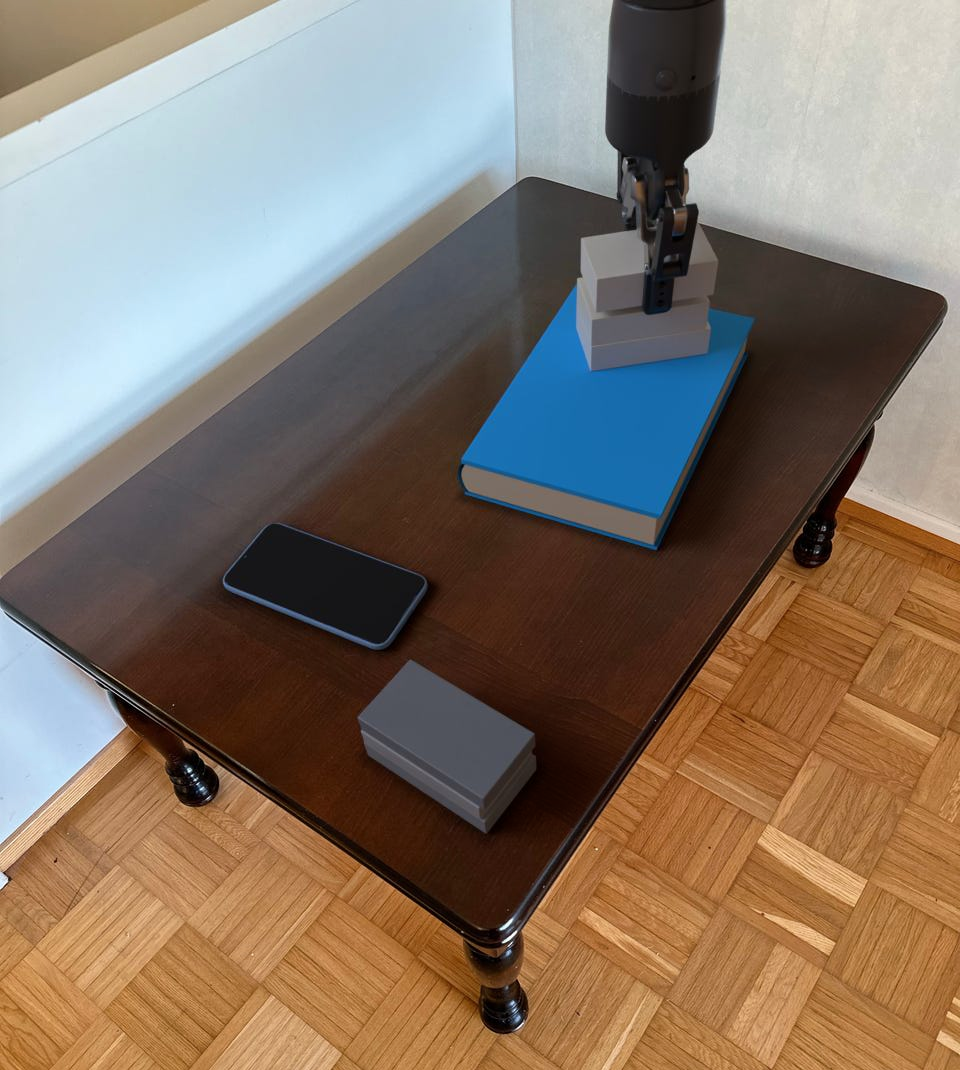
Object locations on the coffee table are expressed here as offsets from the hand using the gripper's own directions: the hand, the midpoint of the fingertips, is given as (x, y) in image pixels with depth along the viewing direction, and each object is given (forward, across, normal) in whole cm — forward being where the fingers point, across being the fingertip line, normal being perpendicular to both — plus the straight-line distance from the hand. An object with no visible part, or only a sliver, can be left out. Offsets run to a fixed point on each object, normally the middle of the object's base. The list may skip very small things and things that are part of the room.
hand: (646, 287), depth 76 cm
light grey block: (0, 0, 0) cm, 0 cm away
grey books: (+9, -35, +21) cm, 42 cm away
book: (+9, -5, +4) cm, 11 cm away
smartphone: (+9, -18, +29) cm, 36 cm away
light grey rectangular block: (+5, 0, 0) cm, 5 cm away
